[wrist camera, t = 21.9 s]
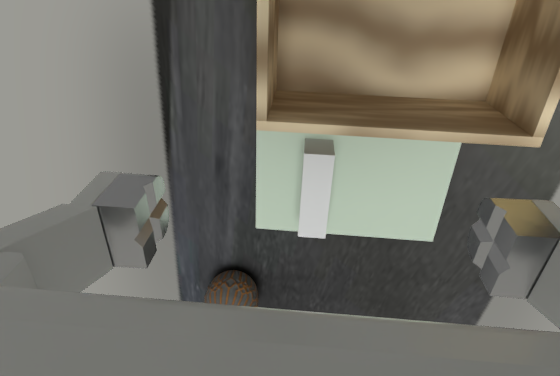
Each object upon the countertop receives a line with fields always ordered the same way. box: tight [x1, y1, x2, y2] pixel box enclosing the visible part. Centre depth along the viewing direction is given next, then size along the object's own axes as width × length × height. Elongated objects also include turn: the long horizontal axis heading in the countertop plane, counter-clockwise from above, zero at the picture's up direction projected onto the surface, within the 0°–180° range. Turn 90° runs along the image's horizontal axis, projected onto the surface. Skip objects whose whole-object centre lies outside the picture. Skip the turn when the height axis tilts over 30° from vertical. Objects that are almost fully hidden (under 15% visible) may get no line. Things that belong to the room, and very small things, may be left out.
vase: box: [204, 270, 258, 307], centre depth 48 cm, size 7×7×9 cm
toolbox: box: [256, 0, 560, 147], centre depth 30 cm, size 14×28×12 cm, turn 88°
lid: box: [256, 130, 461, 242], centre depth 42 cm, size 14×21×5 cm
